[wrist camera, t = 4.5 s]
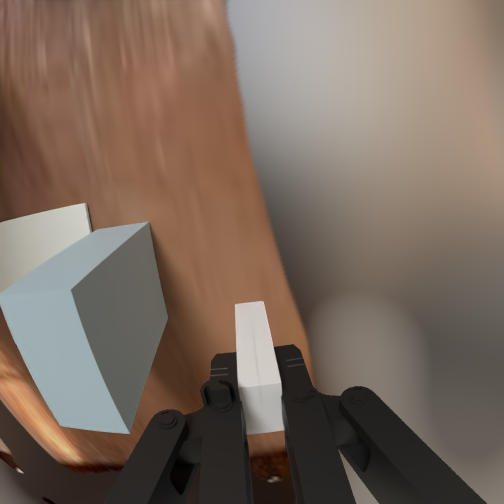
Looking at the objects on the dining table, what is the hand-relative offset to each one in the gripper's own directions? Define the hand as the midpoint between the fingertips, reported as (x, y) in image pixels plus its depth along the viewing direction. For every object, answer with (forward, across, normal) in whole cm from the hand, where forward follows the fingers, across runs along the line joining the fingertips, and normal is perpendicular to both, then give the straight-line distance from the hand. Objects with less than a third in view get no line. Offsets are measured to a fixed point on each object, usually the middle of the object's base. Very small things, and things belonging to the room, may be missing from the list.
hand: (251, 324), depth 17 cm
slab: (+10, -10, 0) cm, 14 cm away
